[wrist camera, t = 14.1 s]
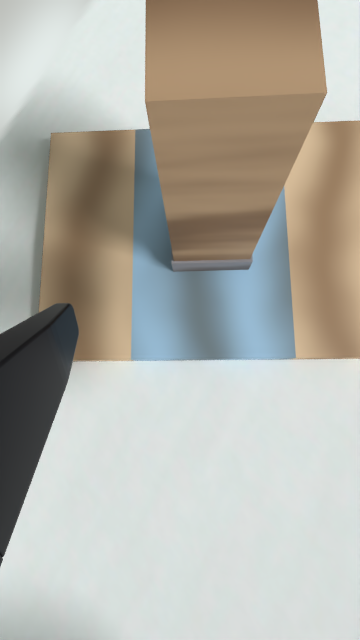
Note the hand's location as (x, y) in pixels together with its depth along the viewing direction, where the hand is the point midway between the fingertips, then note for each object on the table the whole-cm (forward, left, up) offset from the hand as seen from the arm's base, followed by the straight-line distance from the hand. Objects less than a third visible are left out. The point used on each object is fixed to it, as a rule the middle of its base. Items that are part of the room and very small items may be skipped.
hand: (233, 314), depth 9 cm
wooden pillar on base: (+5, +5, -11) cm, 13 cm away
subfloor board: (+5, +5, -12) cm, 14 cm away
